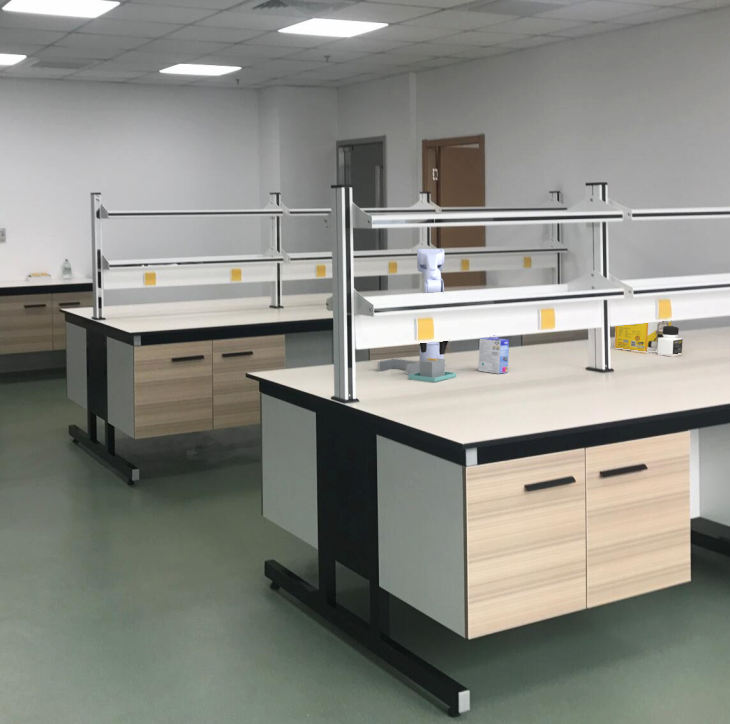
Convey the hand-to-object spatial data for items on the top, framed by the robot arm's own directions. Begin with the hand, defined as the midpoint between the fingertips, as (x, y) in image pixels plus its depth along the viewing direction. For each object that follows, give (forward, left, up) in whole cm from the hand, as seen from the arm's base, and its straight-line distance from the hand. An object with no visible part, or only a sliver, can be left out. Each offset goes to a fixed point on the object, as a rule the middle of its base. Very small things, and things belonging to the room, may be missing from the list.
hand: (432, 353), depth 337 cm
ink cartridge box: (-25, +10, -9) cm, 28 cm away
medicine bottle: (-105, +46, -9) cm, 115 cm away
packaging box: (-114, +31, -9) cm, 118 cm away
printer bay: (-4, -17, -9) cm, 19 cm away
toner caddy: (0, 0, -8) cm, 8 cm away
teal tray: (0, 0, -9) cm, 9 cm away
